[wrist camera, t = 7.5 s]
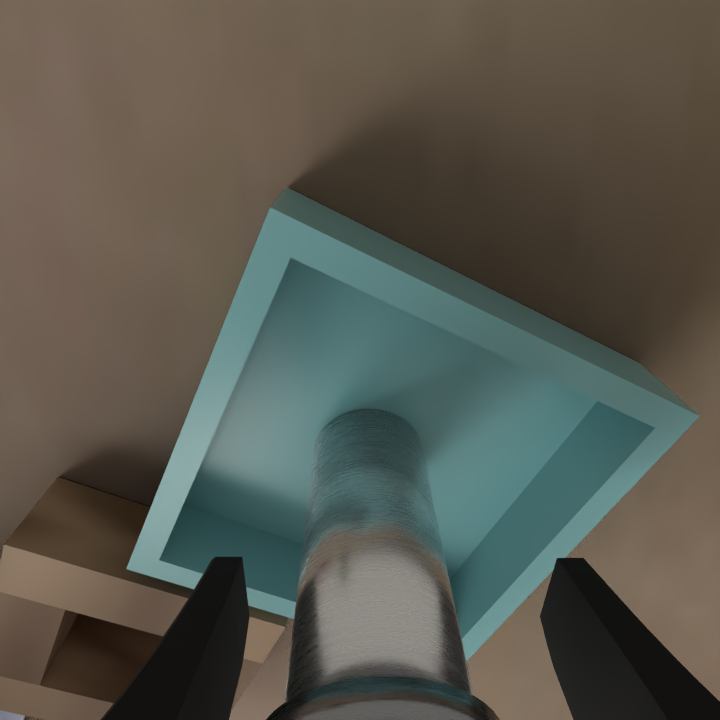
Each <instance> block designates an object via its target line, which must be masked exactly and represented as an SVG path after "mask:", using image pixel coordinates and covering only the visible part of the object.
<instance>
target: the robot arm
mask: <svg viewBox="0 0 720 720" xmlns="http://www.w3.org/2000/svg"><path fill="white" fill-rule="evenodd" d="M249 617H250V615H249V606H248V598H247V590H246V582H245V574H244V566H243V557H214V558H213V559H212V560H211V561H210V563H209V565H208V566H207V568H206V570H205V572H204V574H203V575H202V577H201V579H200V580H199V582H198V584H197V585H196V587H195V589H194V590H193V592H192V593H191V595H190V597H189V598H188V600H187V601H186V603H185V604H184V606H183V608H182V609H181V611H180V612H179V614H178V615H177V617H176V618H175V620H174V621H173V623H172V624H171V626H170V627H169V629H168V630H167V632H166V633H165V634H164V636H163V637H162V639H161V640H160V642H159V643H158V645H157V646H156V648H155V649H154V650H153V652H152V653H151V655H150V656H149V657H148V659H147V660H146V661H145V663H144V664H143V665H142V667H141V668H140V669H139V671H138V672H137V673H136V675H135V676H134V677H133V679H132V680H131V681H130V683H129V684H128V685H127V687H126V688H125V689H124V691H123V692H122V693H121V695H120V696H119V697H118V699H117V700H116V701H115V702H114V704H113V705H112V706H111V707H110V709H109V710H108V711H107V712H106V714H105V715H104V716H103V717H102V718H101V720H229V717H230V713H231V709H232V705H233V701H234V697H235V693H236V689H237V685H238V681H239V677H240V673H241V669H242V664H243V658H244V651H245V645H246V638H247V631H248V624H249ZM540 618H541V622H542V626H543V630H544V634H545V638H546V642H547V645H548V649H549V653H550V656H551V660H552V663H553V666H554V669H555V672H556V675H557V677H558V680H559V683H560V685H561V688H562V690H563V693H564V696H565V698H566V701H567V704H568V706H569V709H570V711H571V714H572V717H573V719H574V720H720V701H718V700H717V699H716V698H715V697H714V696H713V695H712V694H711V693H710V692H709V691H708V690H707V689H706V688H705V687H704V686H703V685H702V684H701V683H700V682H699V681H698V680H697V679H696V678H695V677H694V676H693V675H692V674H691V673H690V672H689V671H688V670H687V669H686V668H685V667H684V666H683V665H682V664H681V663H680V662H679V661H678V660H677V659H676V658H675V657H674V656H673V655H672V654H671V653H670V652H669V651H668V650H667V649H666V648H665V647H664V646H663V644H662V643H661V642H660V641H659V640H658V639H657V638H656V637H655V636H654V635H653V634H652V633H651V632H650V631H649V630H648V629H647V628H646V627H645V626H644V624H643V623H642V622H641V621H640V620H639V619H638V618H637V617H636V616H635V615H634V614H633V612H632V611H631V610H630V609H629V608H628V607H627V606H626V605H625V604H624V603H623V601H622V600H621V599H620V598H619V597H618V596H617V595H616V594H615V593H614V591H613V590H612V589H611V588H610V587H609V586H608V585H607V584H606V583H605V581H604V580H603V579H602V578H601V577H600V576H599V575H598V574H597V573H596V571H595V570H594V569H593V568H592V567H591V566H590V565H589V564H588V563H587V562H586V561H585V559H584V558H557V559H556V563H555V566H554V570H553V573H552V577H551V580H550V584H549V587H548V591H547V594H546V598H545V601H544V605H543V608H542V612H541V615H540ZM24 719H25V716H24V715H19V714H15V713H11V712H6V711H2V710H0V720H24Z"/></svg>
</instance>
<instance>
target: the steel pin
mask: <svg viewBox="0 0 720 720" xmlns="http://www.w3.org/2000/svg"><path fill="white" fill-rule="evenodd" d="M266 720H500V719H499V718H498V717H497V715H496V714H495V713H494V711H493V710H492V709H491V708H490V707H488V706H487V705H486V704H485V703H484V702H482V701H481V700H479V699H478V698H476V697H475V696H473V692H472V687H471V682H470V677H469V672H468V668H467V663H466V658H465V653H464V648H463V643H462V639H461V634H460V629H459V624H458V619H457V614H456V609H455V605H454V600H453V595H452V590H451V585H450V580H449V576H448V571H447V566H446V561H445V556H444V551H443V546H442V542H441V537H440V532H439V527H438V522H437V517H436V513H435V508H434V503H433V498H432V493H431V488H430V483H429V479H428V474H427V469H426V464H425V459H424V454H423V450H422V445H421V441H420V438H419V436H418V434H417V432H416V431H415V429H414V428H413V427H412V426H411V425H410V424H409V423H408V422H407V421H406V420H404V419H403V418H401V417H400V416H398V415H396V414H394V413H391V412H388V411H384V410H380V409H358V410H353V411H349V412H346V413H344V414H341V415H339V416H337V417H336V418H334V419H333V420H331V421H330V422H329V423H328V424H326V425H325V427H324V428H323V429H322V430H321V431H320V433H319V434H318V436H317V438H316V441H315V444H314V450H313V458H312V467H311V476H310V484H309V493H308V502H307V510H306V519H305V528H304V537H303V545H302V554H301V563H300V571H299V580H298V589H297V597H296V606H295V615H294V623H293V632H292V641H291V650H290V658H289V667H288V676H287V684H286V693H285V702H284V704H282V705H281V706H280V707H279V708H277V709H276V710H275V711H274V712H273V713H272V714H271V715H270V716H269V717H268V718H267V719H266Z"/></svg>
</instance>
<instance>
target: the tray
mask: <svg viewBox="0 0 720 720" xmlns="http://www.w3.org/2000/svg"><path fill="white" fill-rule="evenodd" d="M358 409H380V410H384V411H388V412H391V413H394V414H396V415H398V416H400V417H401V418H403V419H404V420H406V421H407V422H408V423H409V424H410V425H411V426H412V427H413V428H414V429H415V431H416V432H417V434H418V436H419V438H420V441H421V445H422V450H423V454H424V459H425V464H426V469H427V474H428V479H429V483H430V488H431V493H432V498H433V503H434V508H435V513H436V517H437V522H438V527H439V532H440V537H441V542H442V546H443V551H444V556H445V561H446V566H447V571H448V576H449V580H450V585H451V590H452V595H453V600H454V605H455V609H456V614H457V619H458V624H459V629H460V634H461V639H462V643H463V648H464V653H465V658H466V661H467V660H468V659H469V658H470V657H471V656H472V655H473V654H474V653H475V652H476V650H477V649H478V648H479V647H480V646H481V645H482V644H483V643H484V642H485V641H486V640H487V639H488V638H489V637H490V636H491V635H492V634H493V633H494V632H495V631H496V629H497V628H498V627H499V626H500V625H501V624H502V623H503V622H504V621H505V620H506V619H507V618H508V617H509V616H510V615H511V614H512V613H513V612H514V611H515V610H516V609H517V607H518V606H519V605H520V604H521V603H522V602H523V601H524V600H525V599H526V598H527V597H528V596H529V595H530V594H531V593H532V592H533V591H534V590H535V589H536V588H537V586H538V585H539V584H540V583H541V582H542V581H543V580H544V579H545V578H546V577H547V576H548V575H549V574H550V573H551V572H552V571H553V570H554V566H555V563H556V559H557V558H565V557H566V556H567V555H568V554H569V553H570V552H571V551H572V550H573V549H574V548H575V547H576V546H577V545H578V543H579V542H580V541H581V540H582V539H583V538H584V537H585V536H586V535H587V534H588V533H589V532H590V531H591V530H592V529H593V528H594V527H595V526H596V525H597V524H598V522H599V521H600V520H601V519H602V518H603V517H604V516H605V515H606V514H607V513H608V512H609V511H610V510H611V509H612V508H613V507H614V506H615V505H616V504H617V503H618V501H619V500H620V499H621V498H622V497H623V496H624V495H625V494H626V493H627V492H628V491H629V490H630V489H631V488H632V487H633V486H634V485H635V484H636V483H637V482H638V480H639V479H640V478H641V477H642V476H643V475H644V474H645V473H646V472H647V471H648V470H649V469H650V468H651V467H652V466H653V465H654V464H655V463H656V462H657V461H658V460H659V458H660V457H661V456H662V455H663V454H664V453H665V452H666V451H667V450H668V449H669V448H670V447H671V446H672V445H673V444H674V443H675V442H676V441H677V440H678V439H679V437H680V436H681V435H682V434H683V433H684V432H685V431H686V430H687V429H688V428H689V427H690V426H691V425H692V424H693V423H694V422H695V421H696V420H697V419H698V418H699V415H698V414H697V413H696V412H695V411H693V410H692V409H691V408H690V407H689V406H688V405H687V404H685V403H684V402H683V401H682V400H681V399H680V398H679V397H678V396H676V395H675V394H674V393H673V392H672V391H671V390H670V389H668V388H667V387H666V386H665V385H664V384H663V383H662V382H660V381H659V380H658V379H657V378H656V377H655V376H654V375H653V374H651V373H650V372H649V371H648V370H647V369H646V368H645V367H643V366H642V365H641V364H640V363H638V362H636V361H634V360H632V359H630V358H628V357H626V356H624V355H622V354H620V353H618V352H616V351H614V350H612V349H610V348H608V347H606V346H604V345H602V344H600V343H598V342H596V341H594V340H592V339H590V338H588V337H586V336H584V335H582V334H580V333H578V332H576V331H574V330H572V329H570V328H568V327H566V326H564V325H562V324H560V323H558V322H556V321H554V320H552V319H550V318H548V317H546V316H544V315H542V314H540V313H538V312H536V311H534V310H532V309H530V308H528V307H526V306H524V305H522V304H520V303H518V302H516V301H514V300H512V299H510V298H508V297H506V296H504V295H502V294H500V293H498V292H496V291H494V290H492V289H490V288H488V287H486V286H484V285H482V284H480V283H478V282H476V281H474V280H472V279H470V278H468V277H466V276H464V275H462V274H460V273H458V272H456V271H454V270H452V269H450V268H448V267H446V266H444V265H442V264H440V263H438V262H436V261H434V260H432V259H430V258H428V257H426V256H424V255H422V254H420V253H418V252H416V251H414V250H412V249H410V248H408V247H406V246H404V245H402V244H400V243H398V242H396V241H394V240H392V239H390V238H388V237H386V236H384V235H382V234H380V233H378V232H376V231H374V230H372V229H370V228H368V227H366V226H364V225H362V224H360V223H358V222H356V221H354V220H352V219H350V218H348V217H346V216H344V215H342V214H340V213H338V212H336V211H334V210H332V209H329V208H327V207H325V206H323V205H321V204H319V203H317V202H315V201H313V200H311V199H309V198H307V197H305V196H303V195H301V194H299V193H297V192H295V191H293V190H291V189H289V188H286V189H285V190H284V191H283V193H282V194H281V195H280V196H279V197H278V199H277V200H276V201H275V202H274V203H273V204H272V206H271V207H270V209H269V211H268V214H267V216H266V219H265V221H264V224H263V226H262V229H261V231H260V234H259V236H258V239H257V241H256V244H255V246H254V249H253V251H252V254H251V256H250V259H249V261H248V264H247V267H246V269H245V272H244V274H243V277H242V279H241V282H240V284H239V287H238V289H237V292H236V294H235V297H234V299H233V302H232V304H231V307H230V309H229V312H228V314H227V317H226V319H225V322H224V324H223V327H222V329H221V332H220V334H219V337H218V339H217V342H216V344H215V347H214V349H213V352H212V355H211V357H210V360H209V362H208V365H207V367H206V370H205V372H204V375H203V377H202V380H201V382H200V385H199V387H198V390H197V392H196V395H195V397H194V400H193V402H192V405H191V407H190V410H189V412H188V415H187V417H186V420H185V422H184V425H183V427H182V430H181V432H180V435H179V437H178V440H177V443H176V445H175V448H174V450H173V453H172V455H171V458H170V460H169V463H168V465H167V468H166V470H165V473H164V475H163V478H162V480H161V483H160V485H159V488H158V490H157V493H156V495H155V498H154V500H153V503H152V505H151V508H150V510H149V513H148V515H147V518H146V520H145V523H144V525H143V528H142V531H141V533H140V536H139V538H138V541H137V543H136V546H135V548H134V551H133V553H132V556H131V558H130V561H129V563H128V566H127V568H126V569H128V570H131V571H134V572H138V573H141V574H144V575H148V576H151V577H154V578H158V579H161V580H165V581H168V582H171V583H175V584H178V585H181V586H185V587H188V588H191V589H195V587H196V585H197V584H198V582H199V580H200V579H201V577H202V575H203V574H204V572H205V570H206V568H207V566H208V565H209V563H210V561H211V560H212V559H213V558H214V557H243V566H244V574H245V582H246V590H247V598H248V606H252V607H255V608H258V609H262V610H265V611H268V612H272V613H275V614H278V615H282V616H285V617H288V618H292V619H294V615H295V606H296V597H297V589H298V580H299V571H300V563H301V554H302V545H303V537H304V528H305V519H306V510H307V502H308V493H309V484H310V476H311V467H312V458H313V450H314V444H315V441H316V438H317V436H318V434H319V433H320V431H321V430H322V429H323V428H324V427H325V425H326V424H328V423H329V422H330V421H331V420H333V419H334V418H336V417H337V416H339V415H341V414H344V413H346V412H349V411H353V410H358Z"/></svg>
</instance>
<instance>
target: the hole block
mask: <svg viewBox="0 0 720 720" xmlns="http://www.w3.org/2000/svg"><path fill="white" fill-rule="evenodd" d="M150 508H151V507H148V506H145V505H142V504H139V503H136V502H132V501H129V500H126V499H123V498H120V497H117V496H114V495H111V494H108V493H105V492H102V491H99V490H96V489H93V488H90V487H87V486H84V485H81V484H78V483H75V482H72V481H69V480H66V479H63V478H59V477H58V478H57V479H56V480H55V482H54V483H53V484H52V485H51V487H50V488H49V489H48V490H47V492H46V493H45V494H44V495H43V497H42V498H41V499H40V500H39V502H38V503H37V504H36V505H35V507H34V508H33V509H32V510H31V512H30V513H29V514H28V515H27V517H26V518H25V519H24V520H23V522H22V523H21V524H20V525H19V527H18V528H17V529H16V530H15V532H14V533H13V534H12V535H11V537H10V538H9V539H8V540H7V542H6V543H5V544H4V547H3V552H2V556H1V560H0V710H2V711H6V712H11V713H15V714H19V715H24V716H28V717H33V718H37V719H42V720H101V718H102V717H103V716H104V715H105V714H106V712H107V711H108V710H109V709H110V707H111V706H112V705H113V704H114V702H115V701H116V700H117V699H118V697H119V696H120V695H121V693H122V692H123V691H124V689H125V688H126V687H127V685H128V684H129V683H130V681H131V680H132V679H133V677H134V676H135V675H136V673H137V672H138V671H139V669H140V668H141V667H142V665H143V664H144V663H145V661H146V660H147V659H148V657H149V656H150V655H151V653H152V652H153V650H154V649H155V648H156V646H157V645H158V643H159V642H160V640H161V639H162V637H163V636H164V634H165V633H166V632H167V630H168V629H169V627H170V626H171V624H172V623H173V621H174V620H175V618H176V617H177V615H178V614H179V612H180V611H181V609H182V608H183V606H184V604H185V603H186V601H187V600H188V598H189V597H190V595H191V593H192V592H193V590H194V589H191V588H188V587H185V586H181V585H178V584H175V583H171V582H168V581H165V580H161V579H158V578H154V577H151V576H148V575H144V574H141V573H138V572H134V571H131V570H128V569H126V568H127V566H128V563H129V561H130V558H131V556H132V553H133V551H134V548H135V546H136V543H137V541H138V538H139V536H140V533H141V531H142V528H143V525H144V523H145V520H146V518H147V515H148V513H149V510H150ZM249 615H250V617H249V624H248V631H247V638H246V645H245V651H244V658H243V664H242V669H241V673H240V677H239V681H238V685H237V689H236V693H235V697H234V701H233V705H232V709H233V708H234V706H235V705H236V703H237V701H238V700H239V698H240V697H241V695H242V694H243V692H244V691H245V689H246V688H247V686H248V685H249V683H250V682H251V680H252V679H253V677H254V676H255V674H256V672H257V671H258V669H259V668H260V666H261V665H262V663H263V662H264V660H265V659H266V657H267V656H268V654H269V653H270V651H271V650H272V648H273V646H274V645H275V643H276V642H277V640H278V639H279V637H280V636H281V634H282V633H283V631H284V630H285V628H286V624H287V617H285V616H282V615H278V614H275V613H272V612H268V611H265V610H262V609H258V608H255V607H252V606H249ZM232 709H231V711H232Z"/></svg>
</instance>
